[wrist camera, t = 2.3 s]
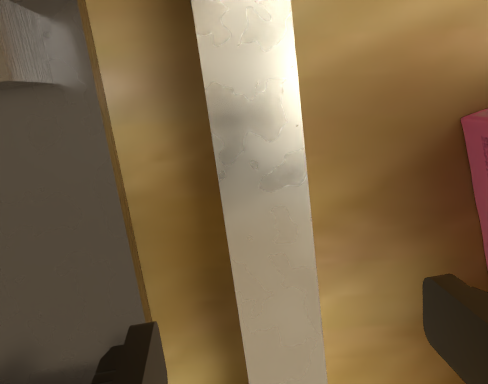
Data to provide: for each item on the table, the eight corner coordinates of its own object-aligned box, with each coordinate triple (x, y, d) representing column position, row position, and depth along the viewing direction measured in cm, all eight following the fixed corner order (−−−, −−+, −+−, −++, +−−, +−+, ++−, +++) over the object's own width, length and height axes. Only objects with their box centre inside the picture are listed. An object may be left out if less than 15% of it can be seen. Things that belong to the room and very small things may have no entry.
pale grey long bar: (264, -87, 20) (279, -133, 16) (319, 431, 27) (339, 490, 23) (178, -77, 19) (171, -121, 15) (257, 443, 27) (266, 504, 23)
